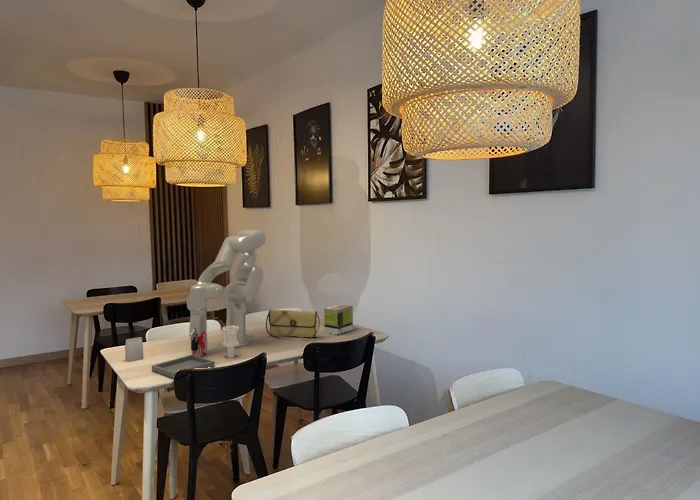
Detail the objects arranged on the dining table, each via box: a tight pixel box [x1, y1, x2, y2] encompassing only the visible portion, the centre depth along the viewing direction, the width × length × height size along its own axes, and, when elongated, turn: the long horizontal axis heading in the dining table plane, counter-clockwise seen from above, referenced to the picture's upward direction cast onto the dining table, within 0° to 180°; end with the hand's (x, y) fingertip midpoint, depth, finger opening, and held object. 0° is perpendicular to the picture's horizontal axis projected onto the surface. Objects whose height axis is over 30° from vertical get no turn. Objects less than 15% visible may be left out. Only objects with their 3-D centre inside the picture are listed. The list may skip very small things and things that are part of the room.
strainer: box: [222, 325, 239, 359], centre depth 219 cm, size 7×7×15 cm
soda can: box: [191, 331, 208, 358], centre depth 220 cm, size 7×7×12 cm
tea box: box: [323, 303, 354, 336], centre depth 268 cm, size 15×10×15 cm, turn 144°
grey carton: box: [124, 336, 144, 363], centre depth 213 cm, size 4×7×10 cm, turn 131°
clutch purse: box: [265, 309, 320, 340], centre depth 253 cm, size 30×7×15 cm, turn 82°
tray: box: [151, 354, 215, 380], centre depth 201 cm, size 20×16×2 cm
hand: (198, 347), depth 220 cm, fingers open, 9 cm apart
